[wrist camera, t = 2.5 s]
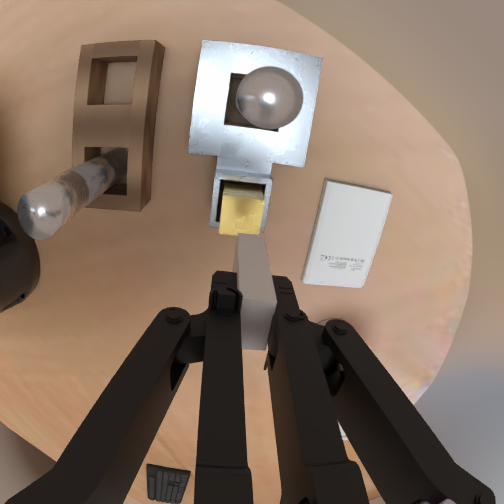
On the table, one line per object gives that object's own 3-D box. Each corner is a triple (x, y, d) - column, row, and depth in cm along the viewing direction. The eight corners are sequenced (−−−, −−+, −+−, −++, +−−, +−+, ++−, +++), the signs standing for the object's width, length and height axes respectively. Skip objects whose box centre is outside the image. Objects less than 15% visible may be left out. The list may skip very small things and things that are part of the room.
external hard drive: (387, 190, 33) (359, 282, 38) (323, 177, 32) (300, 277, 37) (394, 194, 31) (363, 288, 37) (327, 181, 31) (302, 284, 36)
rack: (150, 199, 31) (140, 211, 28) (89, 194, 31) (73, 206, 27) (164, 47, 24) (155, 39, 21) (98, 50, 23) (81, 45, 20)
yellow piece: (221, 209, 30) (218, 233, 24) (225, 177, 28) (223, 195, 23) (253, 212, 30) (258, 237, 25) (258, 181, 29) (264, 200, 23)
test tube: (105, 176, 30) (21, 238, 16) (106, 147, 28) (15, 190, 14) (132, 178, 30) (58, 242, 16) (133, 148, 29) (54, 191, 15)
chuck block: (189, 206, 32) (182, 223, 28) (207, 50, 25) (202, 39, 20) (282, 216, 33) (290, 235, 29) (308, 65, 26) (322, 58, 22)
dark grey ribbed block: (147, 461, 60) (146, 468, 59) (190, 469, 62) (190, 475, 61) (148, 495, 75) (147, 499, 74) (180, 500, 77) (180, 505, 76)
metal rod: (233, 116, 28) (232, 124, 14) (237, 85, 27) (241, 61, 12) (265, 120, 28) (297, 133, 14) (270, 89, 27) (308, 73, 13)
